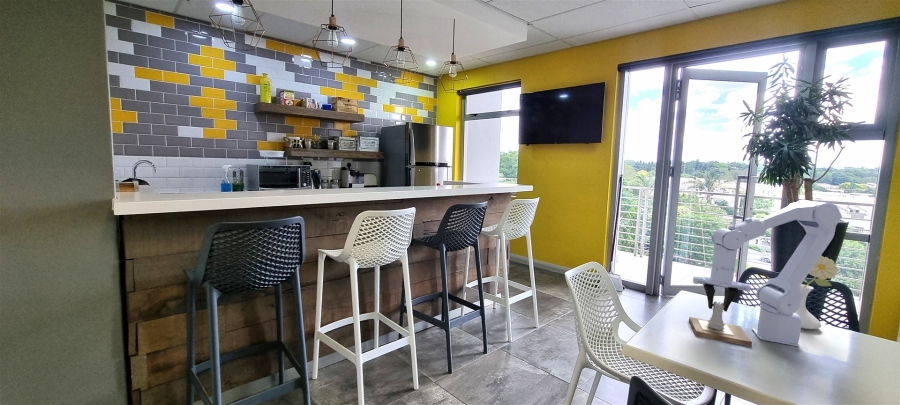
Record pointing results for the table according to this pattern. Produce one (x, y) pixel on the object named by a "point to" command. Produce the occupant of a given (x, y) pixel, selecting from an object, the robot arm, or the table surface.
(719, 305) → the rook chess piece
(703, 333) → the base board
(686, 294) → the table surface
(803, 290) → the flower in vase
